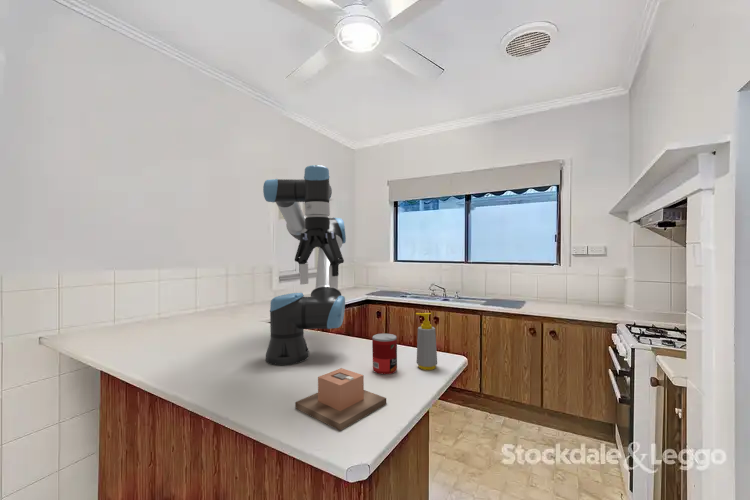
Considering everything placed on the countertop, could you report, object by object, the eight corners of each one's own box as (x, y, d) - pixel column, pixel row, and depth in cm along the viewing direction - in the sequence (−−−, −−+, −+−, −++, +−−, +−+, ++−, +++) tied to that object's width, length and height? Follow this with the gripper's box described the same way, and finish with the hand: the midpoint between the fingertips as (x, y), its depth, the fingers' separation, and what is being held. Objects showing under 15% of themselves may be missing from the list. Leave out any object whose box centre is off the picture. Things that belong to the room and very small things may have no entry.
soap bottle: (415, 363, 112) (414, 311, 112) (435, 363, 112) (435, 311, 112) (417, 370, 105) (416, 315, 105) (439, 370, 105) (438, 314, 105)
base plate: (295, 408, 81) (295, 377, 81) (342, 387, 93) (342, 360, 93) (340, 430, 70) (339, 395, 70) (386, 403, 82) (386, 374, 82)
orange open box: (318, 401, 81) (317, 375, 81) (341, 390, 87) (341, 366, 87) (340, 411, 76) (340, 383, 76) (363, 399, 82) (363, 373, 82)
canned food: (395, 375, 101) (395, 340, 101) (370, 373, 103) (369, 338, 103) (398, 366, 109) (398, 333, 109) (375, 365, 110) (374, 332, 110)
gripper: (283, 218, 106) (284, 283, 106) (336, 213, 90) (337, 290, 90) (301, 219, 112) (302, 281, 112) (355, 215, 96) (355, 287, 96)
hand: (318, 285), depth 101 cm, fingers open, 13 cm apart
